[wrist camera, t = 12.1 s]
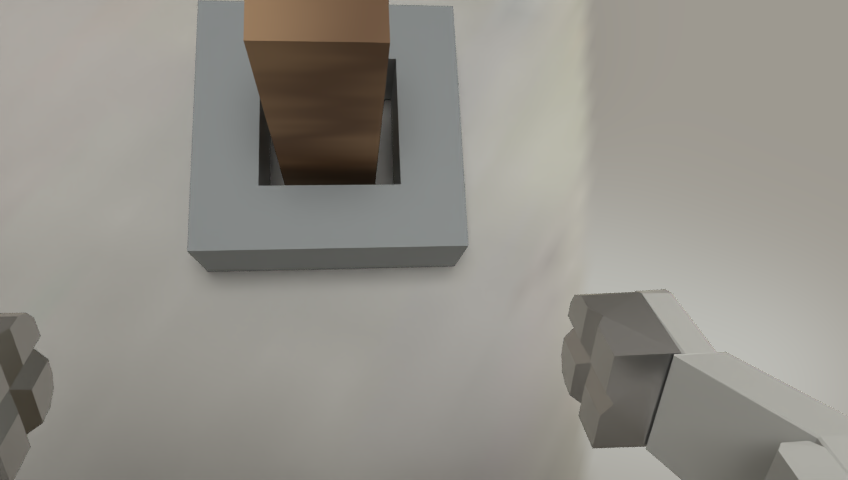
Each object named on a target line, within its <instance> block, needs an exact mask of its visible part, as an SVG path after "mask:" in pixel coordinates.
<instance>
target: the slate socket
mask: <svg viewBox="0 0 848 480" xmlns="http://www.w3.org/2000/svg"><path fill="white" fill-rule="evenodd" d="M389 25H390V49H389V59H388V68H387V77H386V87H385V96H384V99H391V120H392V147H393V174H394V185H276V186H270V136H271V135H270V131H269V128H268V124H267V121H266V117H265V114H264V110H263V107H262V103H261V100H260V96H259V93H258V89H257V86H256V82H255V79H254V75H253V72H252V68H251V65H250V62H249V58H248V55H247V51H246V48H245V44H244V41H243V38H244V1H202V0H198V14H197V38H196V61H195V84H194V107H193V130H192V154H191V177H190V200H189V223H188V246H187V251H188V252H189V253H190V254H191V255H192V256H193V257H194V258H195V259H196V260H197V261H198V262H199V263H200V264H201V265H202V266H203V267H204V268H205V269H206V270H207V271H208V272H212V271H256V270H300V269H344V268H388V267H432V266H455V264H456V263H457V261H458V260H459V258H460V257H461V256H462V254H463V253H464V251H465V250H466V249H467V247H468V231H467V215H466V200H465V184H464V169H463V153H462V138H461V122H460V107H459V91H458V76H457V60H456V45H455V29H454V14H453V6H423V5H389Z"/></svg>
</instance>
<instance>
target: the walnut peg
mask: <svg viewBox="0 0 848 480" xmlns="http://www.w3.org/2000/svg"><path fill="white" fill-rule="evenodd" d="M243 41H244V44H245V48H246V51H247V55H248V58H249V62H250V65H251V68H252V72H253V75H254V79H255V82H256V86H257V89H258V93H259V96H260V100H261V103H262V107H263V110H264V114H265V117H266V121H267V124H268V128H269V131H270V135H271V138H272V142H273V145H274V149H275V152H276V155H277V159H278V162H279V166H280V169H281V173H282V176H283V180H284V183H285V185H375V180H376V171H377V161H378V152H379V143H380V133H381V124H382V115H383V105H384V96H385V87H386V77H387V68H388V59H389V49H390V25H389V0H244V38H243Z"/></svg>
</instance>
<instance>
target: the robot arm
mask: <svg viewBox="0 0 848 480" xmlns="http://www.w3.org/2000/svg"><path fill="white" fill-rule="evenodd" d="M568 317H569V319H570V321H571V323H572V325H573V327H574V328H573V329H572V330H571V331H570V332H569V333H568V334H567V335H566V336H565V337H564V340H563V347H562V353H561V358H562V373H563V377H564V381H565V385H566V387H567V390H568V392H569V395H570V396H572V397H573V398H575V399H576V400H577V401H579V402H580V403H581V406H580V411H579V418H580V421H581V423H582V425H583V427H584V430H585V432H586V434H587V437H588V439H589V441H590V444H591V446H592V448H614V447H644V446H646V450H648V451H649V452H650V453H651V454H652V455H653V456H655V457H656V458H657V459H658V460H659V461H660V462H662V463H663V464H664V465H665V466H666V467H667V468H669V469H670V470H671V471H672V472H673V473H674V474H676V475H677V476H678V477H679V478H680V479H681V480H848V416H847V415H844V414H843V413H841V412H839V411H837V410H835V409H833V408H831V407H830V406H827V405H826V404H824V403H821V402H820V401H818V400H816V399H814V398H812V397H811V396H809V395H807V394H805V393H803V392H801V391H799V390H797V389H795V388H793V387H791V386H790V385H788V384H786V383H784V382H782V381H780V380H778V379H776V378H774V377H773V376H771V375H769V374H767V373H765V372H763V371H761V370H759V369H757V368H755V367H753V366H752V365H750V364H748V363H746V362H744V361H742V360H740V359H738V358H736V357H734V356H733V355H731V354H729V353H727V352H716V351H715V349H714V348H713V347H712V345H711V344H710V343H709V341H708V340H707V339H706V337H705V336H704V335H703V334H702V332H701V331H700V330H699V328H698V327H697V326H696V324H695V323H694V322H693V320H692V319H691V318H690V316H689V315H688V314H687V312H686V311H685V310H684V308H683V307H682V306H681V305H680V303H679V302H678V301H677V299H676V298H675V297H674V295H673V294H672V293H671V292H669V291H667V290H665V289H661V290H646V291H635V292H628V293H627V292H625V293H603V294H580V295H574V297H573V299H572V301H571V303H570V308H569V313H568ZM40 336H41V335H40V333H39V330H38V327H37V325H36V322H35V319H34V317H32V316H30V315H29V314H27V313H0V480H14V478H15V477H16V475H17V473H18V471H19V469H20V467H21V465H22V463H23V461H24V459H25V457H26V455H27V453H28V451H29V449H30V447H31V446H30V443H29V440H28V438H27V434H28V433H29V432H31V431H32V430H34V429H35V428H36V427H38V426H39V425H41V424H42V423H43V422H44V420H45V417H46V415H47V413H48V411H49V409H50V406H51V400H52V395H53V389H54V386H53V374H52V370H51V367H50V363H49V360H48V359H47V358H46V357H44V356H43V355H42V354H40V353H39V352H38V351H37V350H35V349H34V346H35V345H36V343H37V341H38V340H39V338H40Z"/></svg>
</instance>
